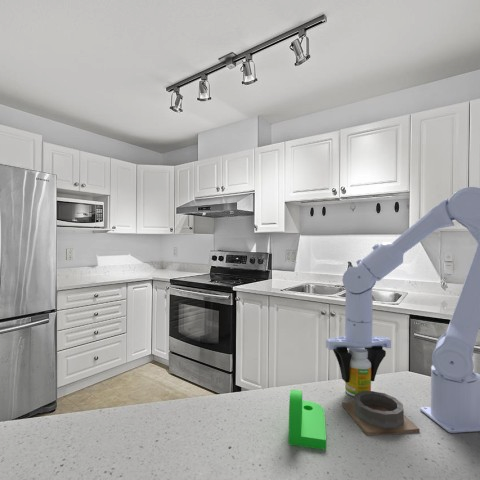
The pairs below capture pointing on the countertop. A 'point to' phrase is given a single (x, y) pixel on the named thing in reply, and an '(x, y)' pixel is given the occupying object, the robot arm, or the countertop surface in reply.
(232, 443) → the countertop surface
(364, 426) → the collar holder
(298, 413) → the mechanical part
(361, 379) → the supplement bottle
